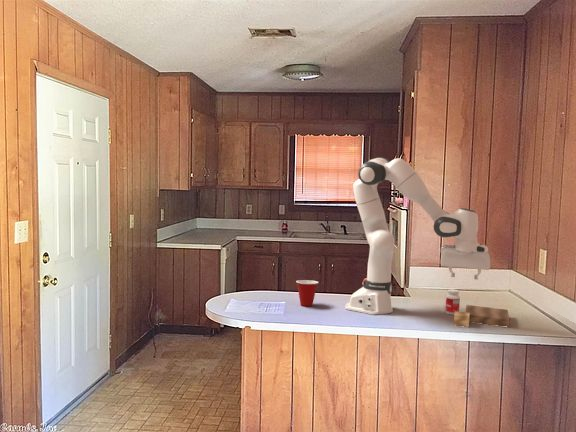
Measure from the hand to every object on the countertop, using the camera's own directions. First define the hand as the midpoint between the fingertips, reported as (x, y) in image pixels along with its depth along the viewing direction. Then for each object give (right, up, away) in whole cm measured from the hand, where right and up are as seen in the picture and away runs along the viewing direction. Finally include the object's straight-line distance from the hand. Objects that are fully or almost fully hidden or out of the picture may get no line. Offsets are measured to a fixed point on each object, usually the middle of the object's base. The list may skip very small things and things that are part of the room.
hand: (464, 278), depth 210 cm
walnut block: (+14, -21, +11) cm, 27 cm away
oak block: (-1, -21, +2) cm, 21 cm away
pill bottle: (+1, -19, +19) cm, 27 cm away
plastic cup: (-67, -17, +27) cm, 74 cm away
